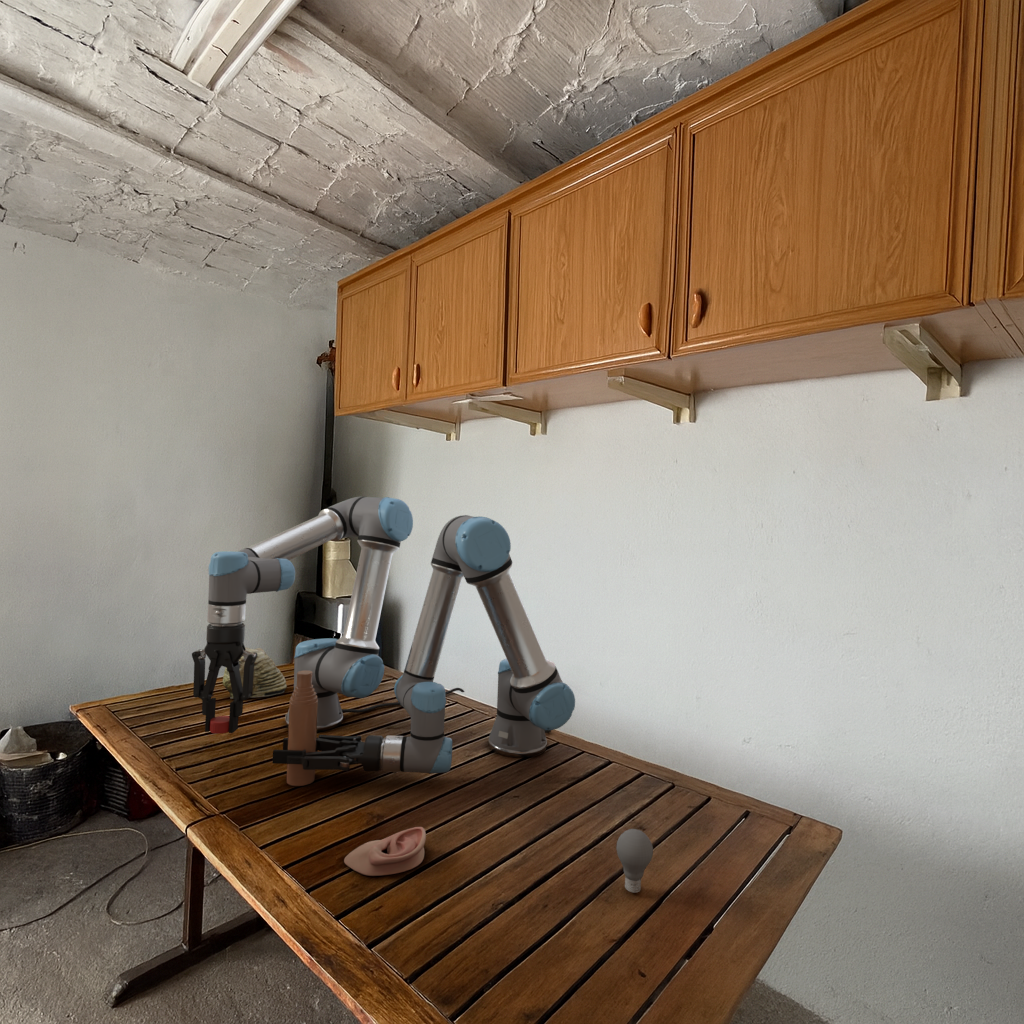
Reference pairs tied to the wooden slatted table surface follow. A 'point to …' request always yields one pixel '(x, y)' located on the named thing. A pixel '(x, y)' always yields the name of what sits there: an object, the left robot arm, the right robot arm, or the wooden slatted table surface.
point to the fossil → (260, 676)
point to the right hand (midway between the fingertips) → (278, 750)
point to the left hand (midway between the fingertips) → (221, 730)
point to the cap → (219, 724)
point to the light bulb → (634, 857)
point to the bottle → (302, 727)
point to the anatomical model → (389, 853)
